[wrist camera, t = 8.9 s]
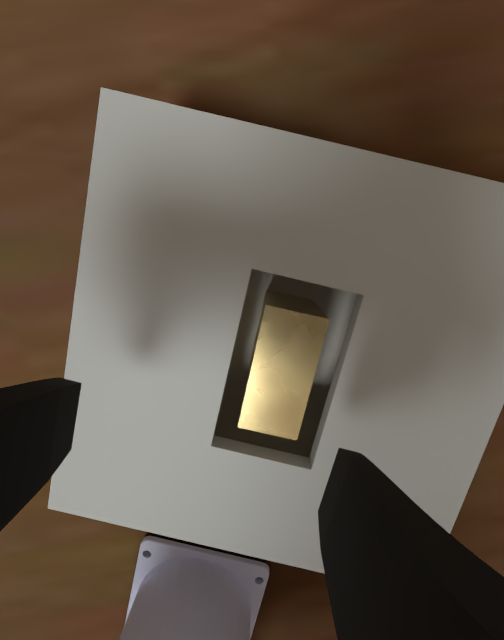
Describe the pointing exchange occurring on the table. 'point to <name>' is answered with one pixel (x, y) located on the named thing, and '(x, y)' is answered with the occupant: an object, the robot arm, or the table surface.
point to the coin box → (243, 318)
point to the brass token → (282, 365)
